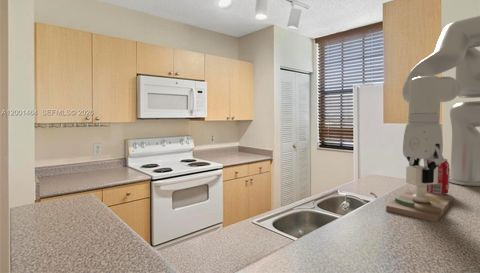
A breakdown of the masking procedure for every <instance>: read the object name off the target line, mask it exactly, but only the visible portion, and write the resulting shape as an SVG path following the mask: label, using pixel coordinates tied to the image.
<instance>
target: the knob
mask: <svg viewBox="0 0 480 273" xmlns="http://www.w3.org/2000/svg"><path fill="white" fill-rule="evenodd" d="M423 169H424V164H422V165H421V164H420V165H419V166H410V165H407V166H406V170H405V172H406V174H405V183H407V184H410V185H413V186H415V191H416V194H413V195H412V200H414V201H417V202H423V203H428V202H430V201H432V202H435V203H437V204H442V203H443V201H442V200H439V199H436V198H433V197H431V196H427V195H426V193H427V185H430V184H437V182H438V167H436V169H435V170H434V182H433V183H422V170H423Z"/></svg>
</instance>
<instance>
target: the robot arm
mask: <svg viewBox="0 0 480 273" xmlns="http://www.w3.org/2000/svg"><path fill="white" fill-rule="evenodd" d="M478 47H480V15H478V16H474V17H473V16H472V17H469V18H465V19H464V18H463V19H461V20H457V21H453V22H451V23H449V24H447V25H446V26H445V27H444V28H443V29H442V31H441V32H440V35H439V38H438V40H437V43H436V45H435V48H434V49H433V52H432V53H431V54H430V55H428V56H427V57H425V58H424V59H422V60H421V61H419V63H417V64H415V66H414V67H412V69H410V71H409V73H408V74H407V77H406V78H405V81H404V83H403V87H402V98H403V100H404V101H405V102H407V103H408V118H407V119H408V123H406V125H405V129H404V133H403V134H404V135H403V140H402V141H403V142H402V154H403V156H404V157H405V158H406V160H407V161H408V163H409V164H408V166H419V165H421V162H422V161H421V160H423V165H424V169H423V170H422V183H433V182H434V170H435V169H436V167H437V166H438V165H439V164H441V163H444V162H445V160H444V159H445V158H444V156H443V150H444V145H443V144H444V143H443V140H444V139H443V132H442V131H443V129H442V126H441V123H440V116H441V103H447V102H451V101H453V100H454V99H455V98H456V97H458V98H460V99H461V98H462V99H475V98H476V99H477V98H480V50H479V49H477V48H478ZM454 68H455V77H452V76H436V75H440V74H442V73H445V72H447V71H449V70H452V69H454ZM449 118H450V124H451V152H450V154H451V155H450V156H451V157H450V173H449V183H451V184H456V185H462V186H467V187H468V186H470V187H480V131H479V130H478V128H480V100H476V101H463V102H462V101H461V102H456V103H455V104H453V105H452V106H451V108H450V110H449ZM429 161H431V162H430V163H429Z"/></svg>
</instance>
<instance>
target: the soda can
mask: <svg viewBox="0 0 480 273" xmlns="http://www.w3.org/2000/svg"><path fill="white" fill-rule="evenodd" d="M444 160H445V162H444V163H441V164H439V165H438V166H437V167H438V182H437V184H430V185H427V192H426V193H431V194H437V195H443V196H446V194H448V193H449V188H450V182H449V176H450V171H451V168H450V164H449V162H448V159H447V158H444ZM430 162H431V161H429V163H430Z"/></svg>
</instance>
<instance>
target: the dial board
mask: <svg viewBox="0 0 480 273" xmlns="http://www.w3.org/2000/svg"><path fill="white" fill-rule="evenodd" d="M413 194H416V190H413V189H408V190H406V191H405V192H404V193H402V194H401V195H399V196H398V197H394V199H393V200H392V201H391V202H389V203H388V204H387V205H386V206H385V209H386V211H387V212H390V213H394V214H398V215H403V216H408V217H413V218H417V219H421V220H426V221H430V222H434V223H438V221H439V220H440V219H441V218H442V216H443V215H444V214H445V212H446V211H447V209H449V207H450V206H451V204H453V202H454V197H453V196H449V195H437V194H431V193H427V192H426V195H427V196H431V197H433V198H436V199H439V200H442V201H443V203H442V204H437V203H435V202H432V201H430V202H428V203H423V202H417V201H414V200H412V195H413Z"/></svg>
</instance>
